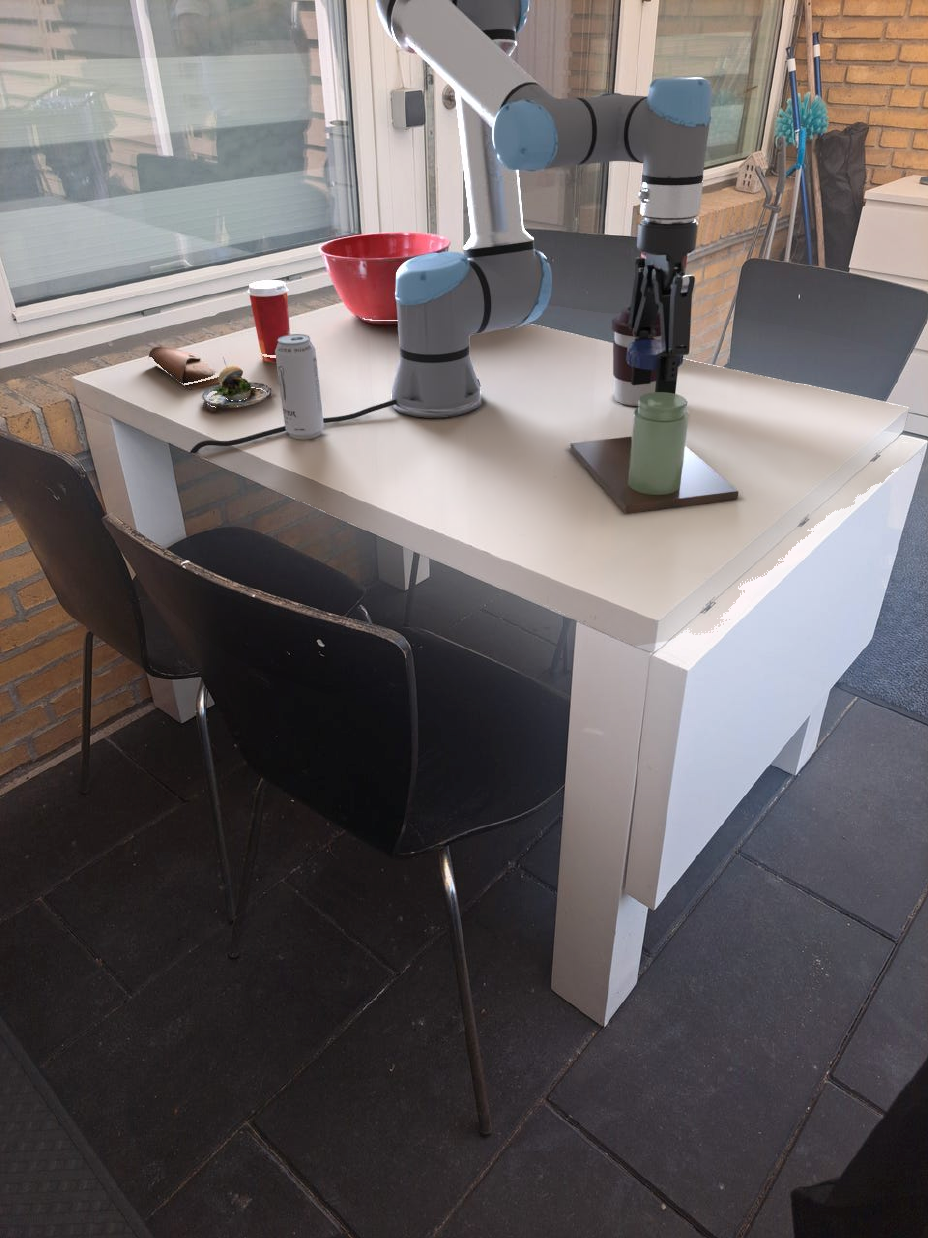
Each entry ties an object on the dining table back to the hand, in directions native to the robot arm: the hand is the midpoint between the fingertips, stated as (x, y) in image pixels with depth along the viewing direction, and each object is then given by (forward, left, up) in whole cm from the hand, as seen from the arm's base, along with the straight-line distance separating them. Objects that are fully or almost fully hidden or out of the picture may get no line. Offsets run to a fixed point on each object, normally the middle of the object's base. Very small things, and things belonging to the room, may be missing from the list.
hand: (652, 392), depth 127 cm
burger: (-58, +41, -10) cm, 72 cm away
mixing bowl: (-24, +89, -10) cm, 93 cm away
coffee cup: (+8, +23, -10) cm, 26 cm away
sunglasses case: (-67, +60, -10) cm, 90 cm away
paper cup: (-50, +65, -10) cm, 83 cm away
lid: (0, 0, +6) cm, 6 cm away
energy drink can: (-48, +23, -10) cm, 54 cm away
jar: (-4, -12, -8) cm, 15 cm away
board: (-2, -6, -10) cm, 12 cm away
